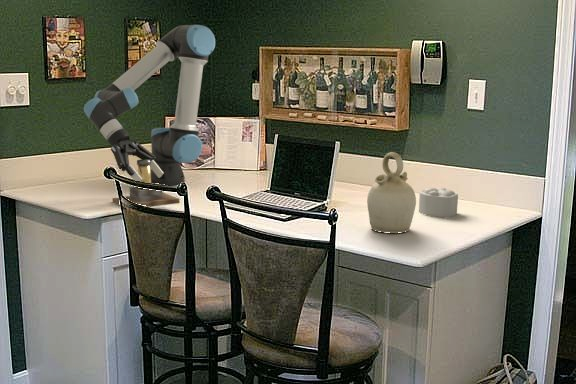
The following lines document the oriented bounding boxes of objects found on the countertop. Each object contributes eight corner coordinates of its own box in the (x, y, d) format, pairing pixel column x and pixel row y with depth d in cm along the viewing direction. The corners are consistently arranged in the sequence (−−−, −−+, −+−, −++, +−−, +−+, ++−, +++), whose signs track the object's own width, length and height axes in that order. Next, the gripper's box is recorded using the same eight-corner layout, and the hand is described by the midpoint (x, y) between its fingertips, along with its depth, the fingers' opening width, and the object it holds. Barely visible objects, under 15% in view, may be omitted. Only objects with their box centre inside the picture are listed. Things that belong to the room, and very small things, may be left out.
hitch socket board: (162, 196, 283) (161, 181, 282) (179, 202, 272) (179, 188, 270) (112, 202, 271) (112, 187, 270) (128, 209, 260) (128, 193, 259)
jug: (381, 237, 228) (385, 156, 223) (357, 225, 241) (360, 149, 236) (424, 233, 234) (428, 154, 229) (397, 222, 247) (401, 147, 242)
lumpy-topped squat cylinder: (447, 218, 253) (449, 193, 252) (413, 213, 261) (414, 189, 259) (459, 213, 262) (461, 189, 260) (425, 208, 269) (426, 184, 267)
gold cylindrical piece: (149, 196, 275) (147, 158, 272) (155, 198, 271) (153, 160, 268) (136, 198, 272) (134, 160, 269) (142, 200, 268) (140, 161, 265)
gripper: (129, 137, 284) (163, 179, 281) (87, 145, 262) (124, 191, 259) (141, 124, 281) (175, 166, 278) (99, 131, 259) (136, 177, 256)
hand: (150, 178), depth 269 cm, fingers open, 13 cm apart
